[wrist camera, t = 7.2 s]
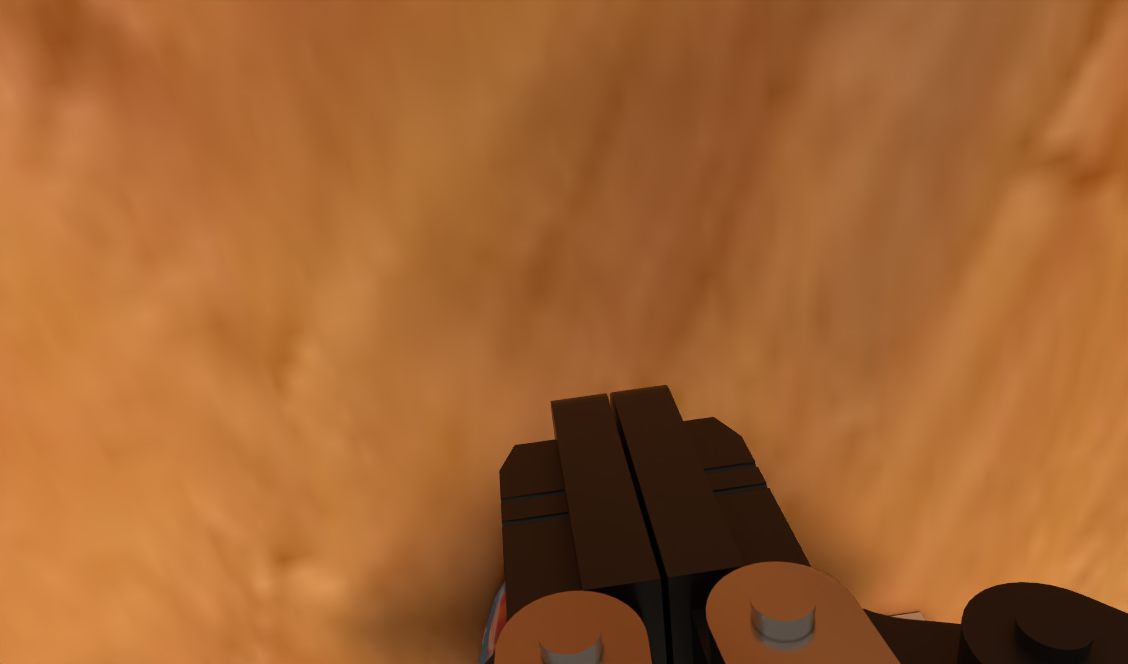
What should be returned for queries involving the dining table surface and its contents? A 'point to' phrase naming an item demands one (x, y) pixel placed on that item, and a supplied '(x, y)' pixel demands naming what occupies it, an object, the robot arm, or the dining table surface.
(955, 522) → the dining table surface
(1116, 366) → the dining table surface
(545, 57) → the dining table surface
